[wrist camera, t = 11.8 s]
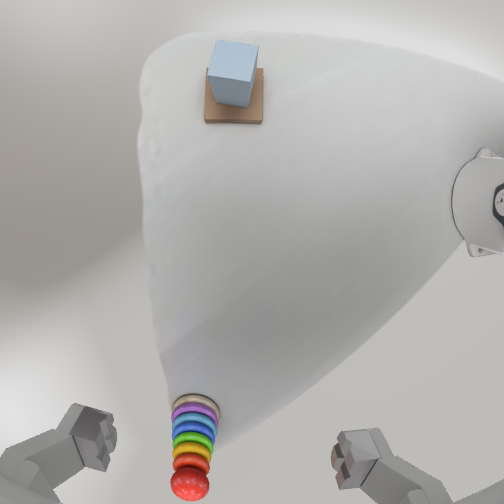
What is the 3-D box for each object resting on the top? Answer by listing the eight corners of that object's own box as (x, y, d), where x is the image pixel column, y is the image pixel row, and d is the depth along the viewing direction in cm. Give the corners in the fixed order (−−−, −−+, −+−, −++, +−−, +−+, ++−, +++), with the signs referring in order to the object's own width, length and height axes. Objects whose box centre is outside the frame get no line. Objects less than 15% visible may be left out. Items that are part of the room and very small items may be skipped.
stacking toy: (193, 431, 49) (183, 515, 30) (163, 404, 47) (140, 489, 29) (229, 415, 48) (229, 503, 30) (199, 385, 46) (186, 476, 28)
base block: (261, 75, 37) (263, 68, 34) (260, 124, 39) (262, 120, 36) (208, 75, 37) (206, 67, 34) (206, 123, 38) (204, 119, 35)
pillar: (254, 79, 34) (258, 46, 25) (248, 108, 35) (250, 81, 25) (222, 73, 34) (216, 39, 24) (215, 102, 35) (206, 75, 25)
